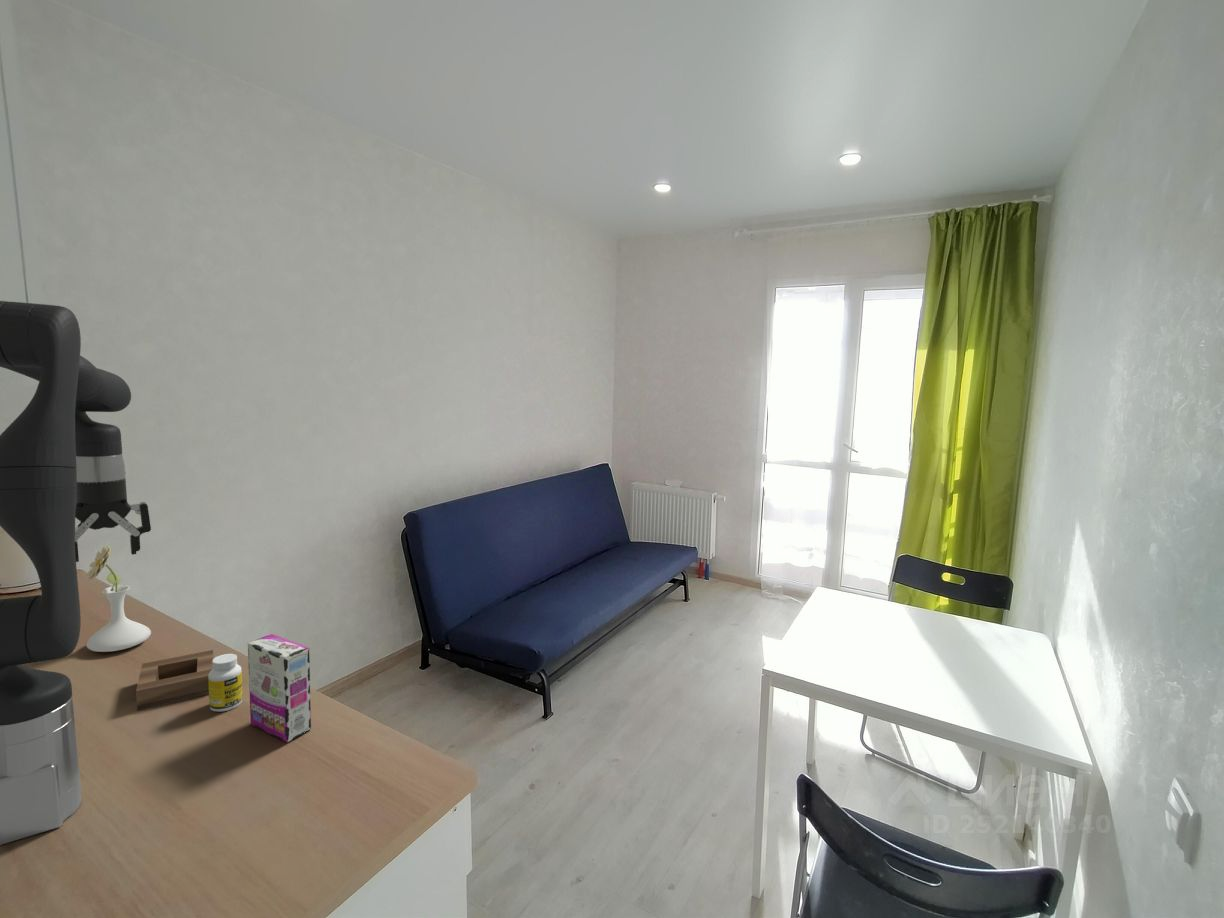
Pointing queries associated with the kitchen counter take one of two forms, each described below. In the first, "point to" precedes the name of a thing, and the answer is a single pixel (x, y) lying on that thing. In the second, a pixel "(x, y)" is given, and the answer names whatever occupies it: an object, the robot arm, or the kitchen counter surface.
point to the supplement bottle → (225, 683)
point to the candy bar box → (279, 687)
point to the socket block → (173, 679)
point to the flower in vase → (114, 613)
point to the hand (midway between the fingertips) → (106, 557)
